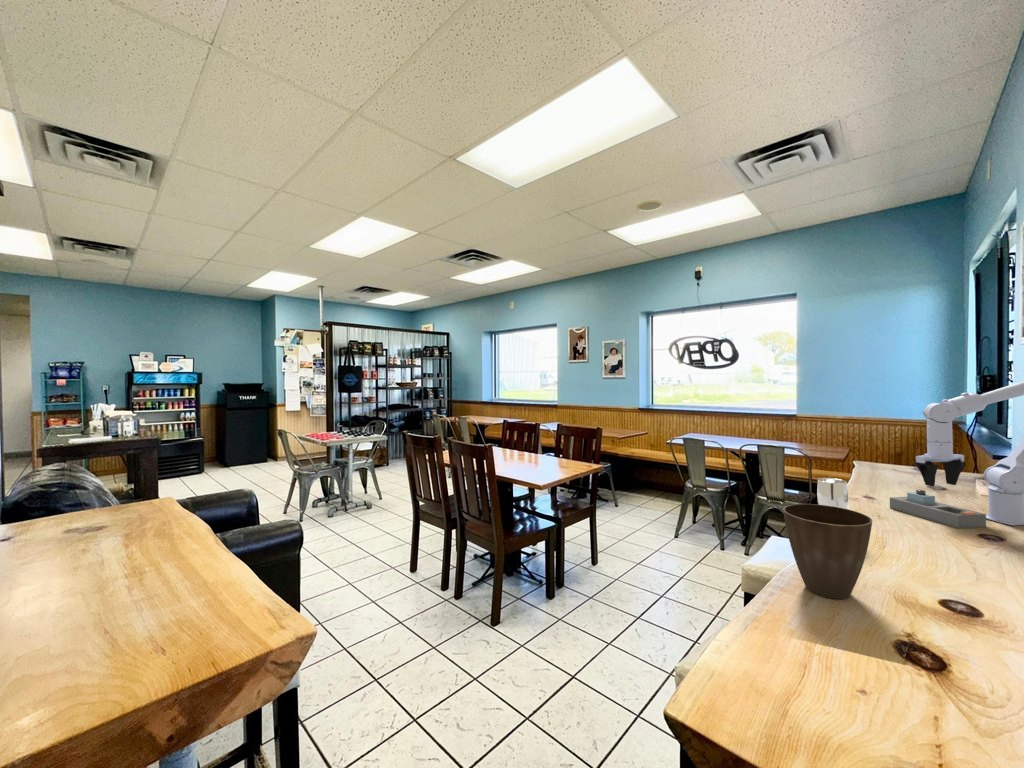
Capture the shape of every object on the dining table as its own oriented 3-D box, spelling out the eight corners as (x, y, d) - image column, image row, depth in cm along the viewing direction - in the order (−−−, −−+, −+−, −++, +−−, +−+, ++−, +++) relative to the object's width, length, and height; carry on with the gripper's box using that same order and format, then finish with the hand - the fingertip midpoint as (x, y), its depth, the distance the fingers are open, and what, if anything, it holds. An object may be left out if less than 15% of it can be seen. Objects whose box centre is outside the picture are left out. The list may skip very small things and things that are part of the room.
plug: (918, 510, 140) (918, 488, 140) (935, 515, 135) (934, 492, 135) (907, 511, 139) (907, 488, 139) (923, 515, 134) (923, 492, 134)
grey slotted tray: (914, 506, 144) (914, 494, 144) (986, 526, 124) (985, 512, 124) (889, 508, 143) (889, 495, 143) (958, 528, 123) (957, 513, 123)
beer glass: (838, 529, 124) (837, 477, 124) (855, 538, 117) (853, 483, 117) (812, 529, 125) (811, 477, 125) (827, 538, 118) (826, 483, 118)
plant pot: (783, 569, 100) (782, 500, 100) (866, 583, 92) (864, 508, 92) (785, 597, 87) (784, 518, 87) (881, 616, 79) (880, 530, 79)
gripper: (946, 438, 139) (947, 480, 139) (905, 440, 138) (906, 483, 138) (971, 441, 132) (972, 486, 132) (929, 443, 131) (930, 488, 131)
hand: (940, 485), depth 135 cm, fingers open, 7 cm apart
